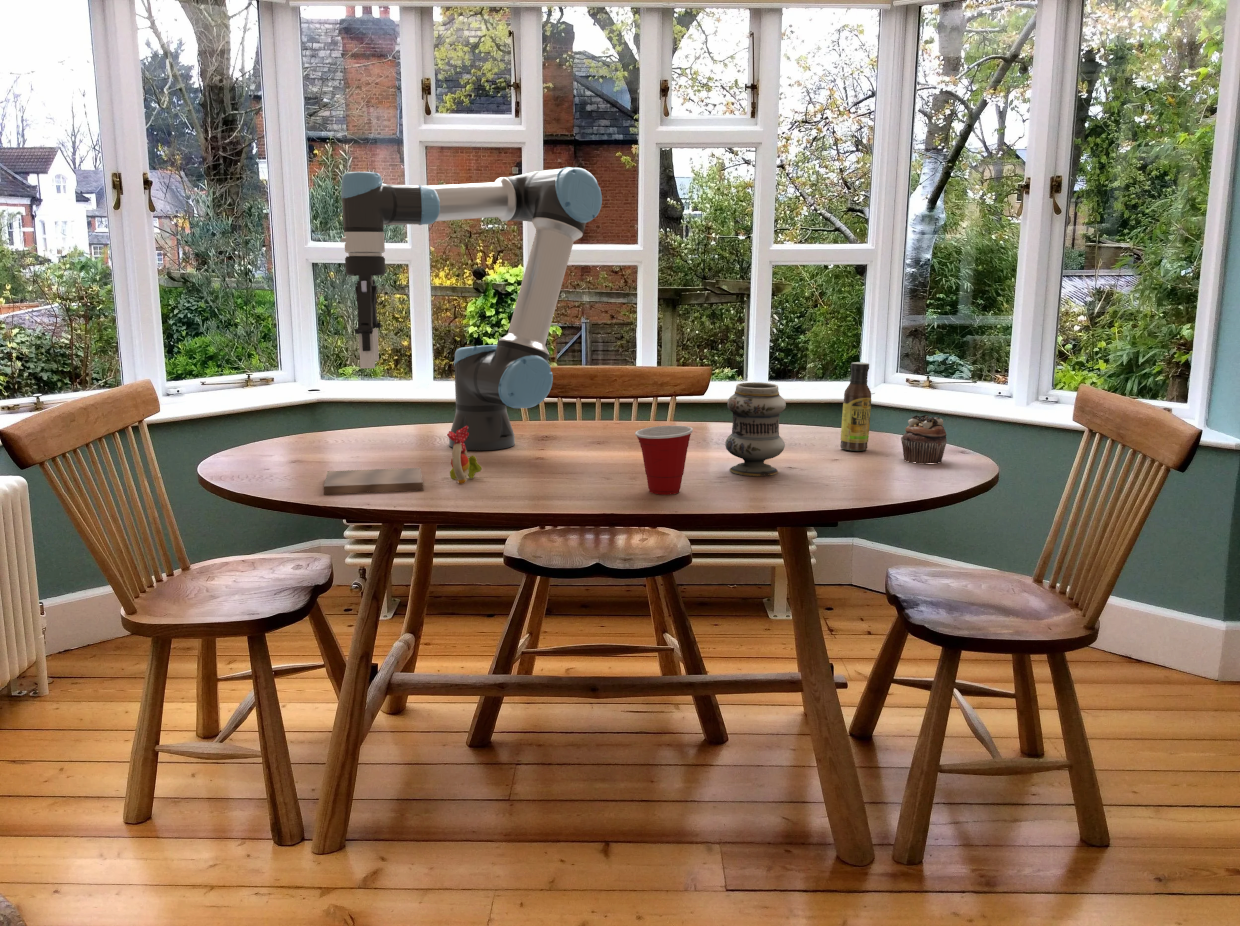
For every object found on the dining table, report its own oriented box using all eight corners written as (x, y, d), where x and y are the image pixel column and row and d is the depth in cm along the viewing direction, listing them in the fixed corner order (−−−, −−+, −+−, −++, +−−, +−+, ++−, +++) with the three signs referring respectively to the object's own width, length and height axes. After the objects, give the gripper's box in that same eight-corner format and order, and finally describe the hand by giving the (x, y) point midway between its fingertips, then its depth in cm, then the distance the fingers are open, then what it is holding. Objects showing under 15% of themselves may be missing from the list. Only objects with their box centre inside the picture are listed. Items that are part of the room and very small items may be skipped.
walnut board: (420, 474, 209) (420, 467, 209) (423, 490, 196) (422, 482, 195) (327, 478, 205) (327, 471, 205) (323, 494, 192) (323, 486, 191)
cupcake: (953, 460, 226) (956, 415, 224) (932, 467, 219) (935, 420, 217) (913, 454, 233) (915, 410, 231) (891, 460, 226) (894, 415, 224)
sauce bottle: (850, 452, 234) (855, 364, 230) (834, 448, 240) (838, 362, 236) (874, 451, 237) (878, 363, 233) (857, 446, 242) (862, 361, 239)
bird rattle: (478, 493, 202) (483, 467, 210) (474, 446, 196) (478, 420, 203) (446, 494, 202) (452, 467, 210) (440, 446, 196) (446, 420, 203)
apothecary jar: (746, 480, 206) (748, 389, 202) (713, 469, 216) (715, 382, 213) (795, 474, 211) (799, 386, 208) (761, 464, 222) (764, 379, 218)
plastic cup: (630, 486, 200) (631, 424, 198) (685, 484, 201) (687, 423, 199) (638, 498, 189) (639, 434, 187) (697, 497, 191) (698, 432, 188)
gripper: (350, 254, 213) (355, 358, 217) (338, 255, 189) (344, 371, 193) (387, 254, 214) (392, 357, 218) (381, 255, 190) (386, 371, 194)
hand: (370, 364), depth 206 cm, fingers open, 13 cm apart
